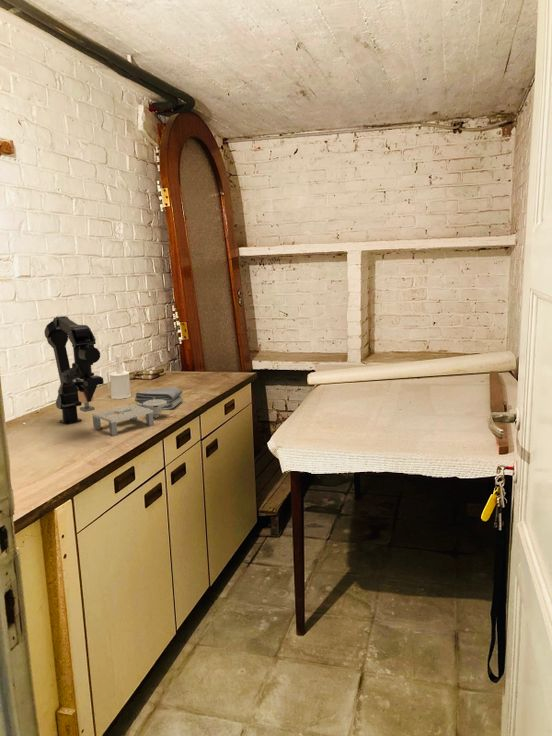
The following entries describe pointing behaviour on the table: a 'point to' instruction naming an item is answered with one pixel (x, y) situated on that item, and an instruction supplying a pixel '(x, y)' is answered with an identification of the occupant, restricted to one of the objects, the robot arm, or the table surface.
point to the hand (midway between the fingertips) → (86, 400)
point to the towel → (160, 396)
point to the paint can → (119, 381)
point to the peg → (85, 401)
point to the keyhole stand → (122, 416)
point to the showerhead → (155, 406)
